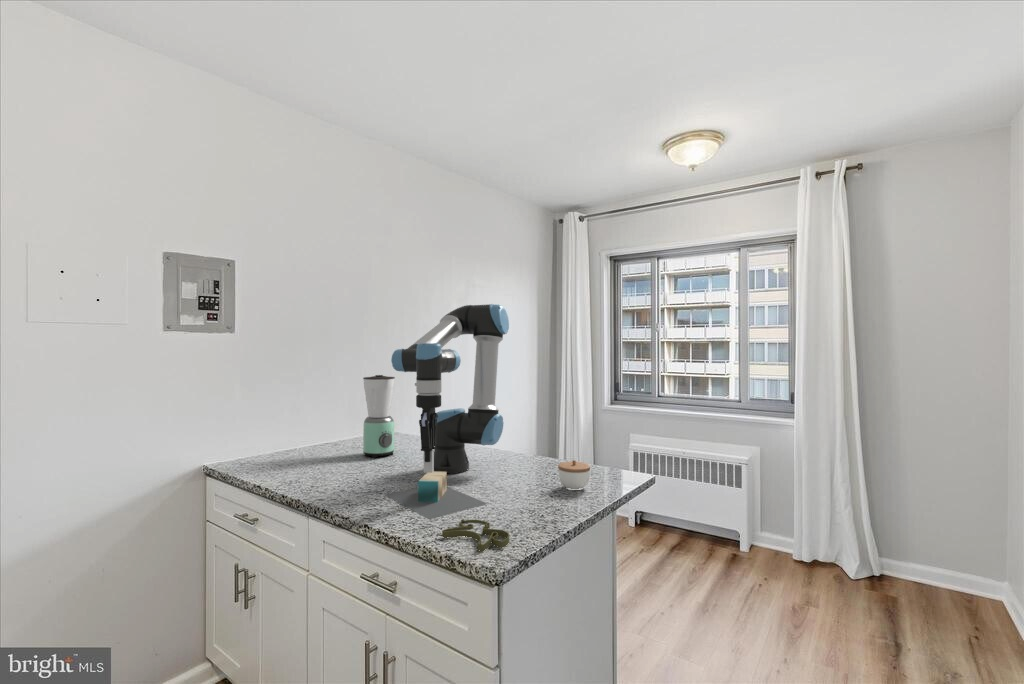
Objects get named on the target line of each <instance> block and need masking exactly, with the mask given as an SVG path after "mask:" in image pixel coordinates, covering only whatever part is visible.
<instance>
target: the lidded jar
mask: <svg viewBox="0 0 1024 684" xmlns="http://www.w3.org/2000/svg"><path fill="white" fill-rule="evenodd" d="M557 467H558V468H557V469H558V478H559V481H560V484H561V485H562V486H563V487H564V488H565V487H566V488H571V489H579V488H583V487H584V488H585V487H586V486H587V484H588V483H589V481H590V477H591V476H590V475H591V465H590V464H589V463H586V462H581V461H576V460H575V459H572V461H564V462H560V463H558V465H557ZM584 488H583V489H584Z"/></svg>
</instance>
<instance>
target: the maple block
mask: <svg viewBox="0 0 1024 684" xmlns="http://www.w3.org/2000/svg"><path fill="white" fill-rule="evenodd" d="M447 475H448V474H447V472H441V471H434V472H433V473H427V472H425V474H424V475H423V476H422V477H421V478H420V479H419V480H417V483H418V485H417V488H418V501H423V502H438V501H439V500H440V498H441V497H442V496H443V494H444V493H445V492H446V490H447V487H448V486H447V481H448V480H447V479H448V476H447Z"/></svg>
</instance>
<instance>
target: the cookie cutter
mask: <svg viewBox="0 0 1024 684" xmlns="http://www.w3.org/2000/svg"><path fill="white" fill-rule="evenodd" d="M463 523H464V524H466V525H464V524H463ZM467 523H468V524H467ZM472 523H480V524H484V526H483V527H482V535H483V534H486V535H485V536H488V535H491V536H489V538H488V539H487V541H486V542H484V543H482V536H481V535H480V534H479V533H478V532H475V531H472V529H474V524H472ZM488 528H489V529H488ZM441 534H442V535H441V536H443V537H444V539H445V538H446V539H448V538H447V537H454V538H458V537H457V536H465V537H464V538H467V537H472V538H475V539H477V540H478V541H479V542H478V541H477V540H476V541H477V542H478V543H477V551H478V550H480V551H484V550H485V549H487V548H488V547H489V548H490V546H491V545H492V544H493V545H492V546H494V545H495V546H498V547H501V548H500V549H503V548H502V547H504V546H506V545H507V544H508V543H509V544H510V533H509V532H508V531H506V530H504V529H497V528H495V529H494V528H490V522H489V521H485V520H481V519H466V520H465V519H460V522H459V526H457V527H451V528H445V529H443V530H441ZM498 535H499V536H498ZM466 536H467V537H466ZM500 536H503V537H502V538H504V537H506V538H504V539H503V540H499V537H500ZM443 537H442V538H443ZM472 538H471V539H472ZM475 539H474V540H475ZM491 542H492V543H491ZM490 544H491V545H490ZM509 544H508V545H509ZM489 545H490V546H489ZM508 545H507V546H508ZM495 546H494V547H495ZM507 546H506V547H507ZM498 547H497V548H498ZM489 548H488V549H489ZM504 548H505V547H504ZM488 549H487V550H488ZM480 551H479V552H480ZM485 551H486V550H485ZM485 551H484V552H485Z"/></svg>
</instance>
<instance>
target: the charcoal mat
mask: <svg viewBox="0 0 1024 684" xmlns="http://www.w3.org/2000/svg"><path fill="white" fill-rule="evenodd" d="M384 496H385V497H388V498H389V499H391V500H393V501H395V502H397V503H399V505H400V504H401V505H402V506H404V507H406V508H408V509H409V510H412V511H413V512H415V513H417V514H418V515H421V516H422V517H424V518H427V520H431V519H436V518H440V517H443V516H447V515H451V514H455V513H458V512H462V511H466V510H471V509H474V508H478V507H482V506H486V505H488V503H487V502H484V501H483V500H480V499H478V498H476V497H473V496H471V495H469V494H466V493H463V492H461V491H459V490H458V489H457V490H456V489H455V488H452V487H449V486H447V490H446V492H445V493H444V494H443V496H442V497H441V498H440V500H439V501H438V502H423V501H418V487H415V488H409V489H405V490H400V491H395V492H390V493H386V494H385V493H384Z"/></svg>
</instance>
